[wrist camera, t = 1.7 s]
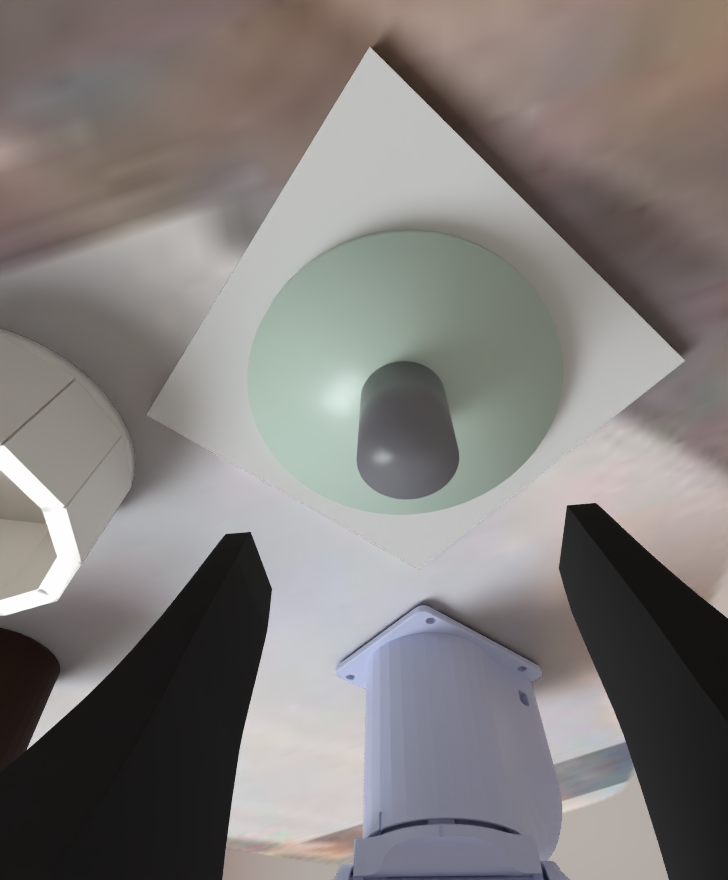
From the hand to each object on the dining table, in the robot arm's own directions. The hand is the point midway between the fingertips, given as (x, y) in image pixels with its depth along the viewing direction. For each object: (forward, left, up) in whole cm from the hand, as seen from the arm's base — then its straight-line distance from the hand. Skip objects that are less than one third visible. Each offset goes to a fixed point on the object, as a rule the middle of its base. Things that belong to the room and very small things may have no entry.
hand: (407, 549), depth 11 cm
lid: (0, 0, -8) cm, 8 cm away
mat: (0, 0, -8) cm, 8 cm away
